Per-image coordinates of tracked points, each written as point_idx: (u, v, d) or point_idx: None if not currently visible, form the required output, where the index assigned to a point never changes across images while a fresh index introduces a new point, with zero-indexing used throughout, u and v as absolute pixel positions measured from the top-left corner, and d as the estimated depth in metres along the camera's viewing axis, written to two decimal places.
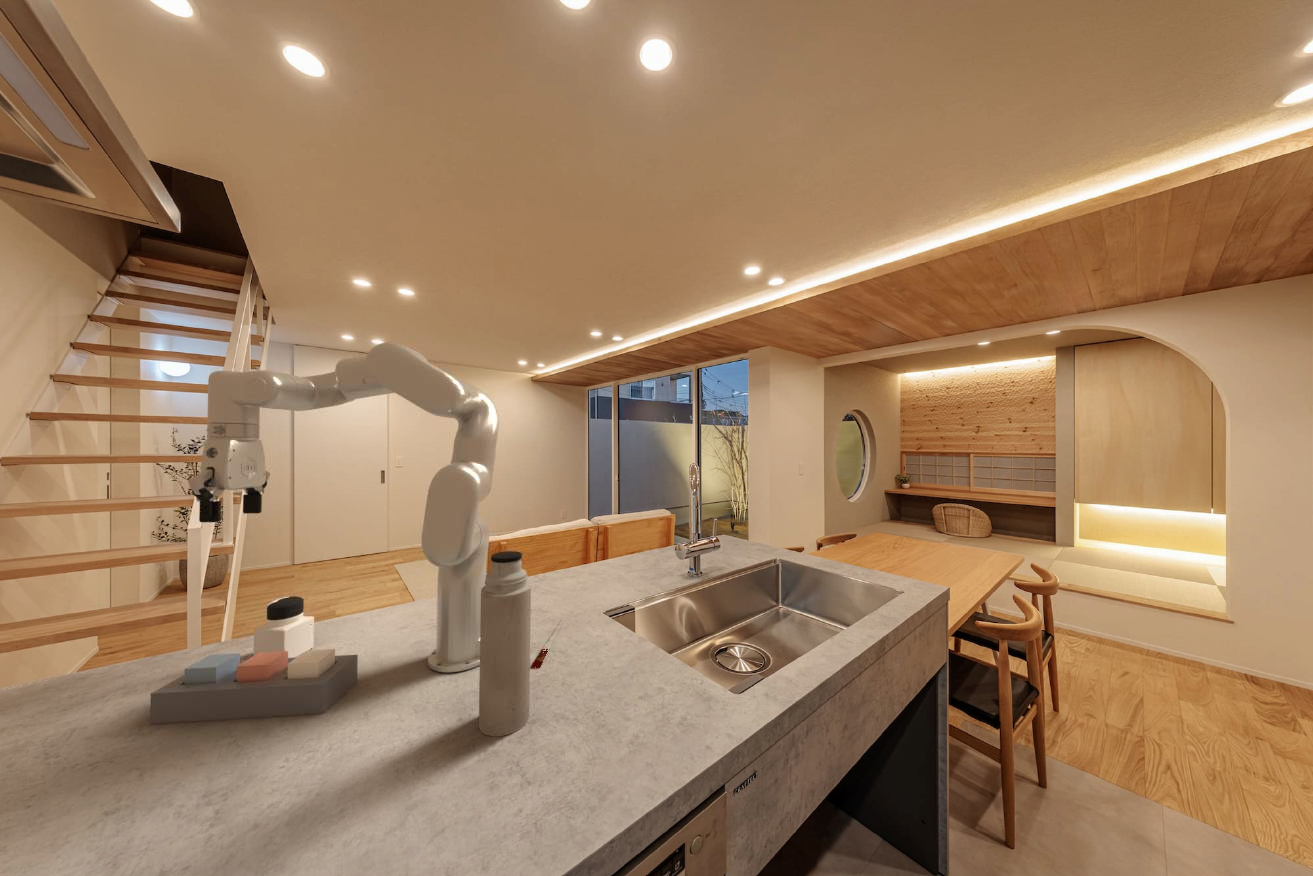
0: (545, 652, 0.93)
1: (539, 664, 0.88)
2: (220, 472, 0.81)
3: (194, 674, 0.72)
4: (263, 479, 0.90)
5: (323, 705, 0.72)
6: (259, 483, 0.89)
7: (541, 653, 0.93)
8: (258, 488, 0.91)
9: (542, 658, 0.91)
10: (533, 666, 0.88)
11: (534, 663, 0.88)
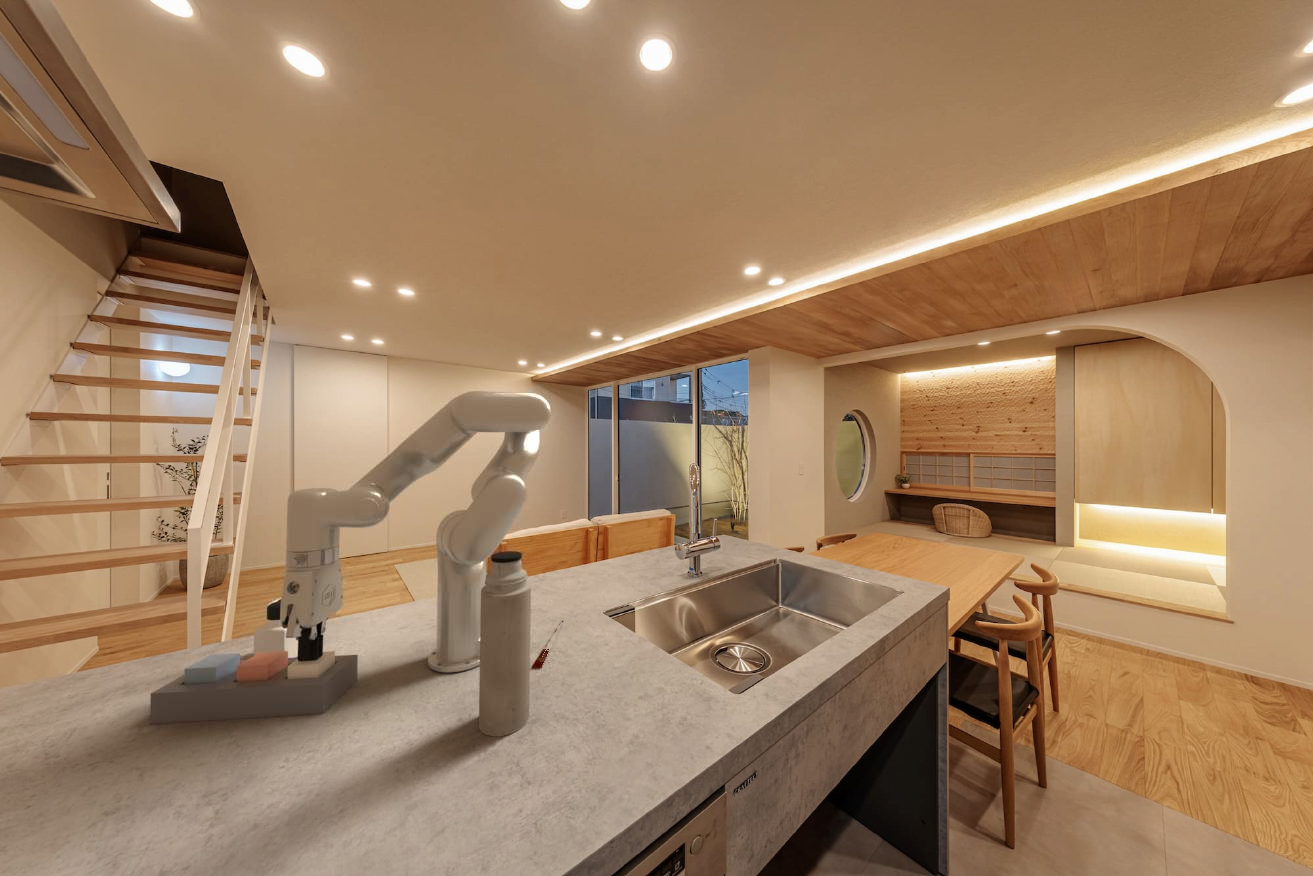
0: (546, 653, 0.93)
1: (540, 665, 0.88)
2: (303, 610, 0.72)
3: (194, 674, 0.72)
4: (341, 602, 0.81)
5: (323, 705, 0.72)
6: (337, 608, 0.80)
7: (542, 653, 0.93)
8: (323, 623, 0.78)
9: (543, 659, 0.90)
10: (534, 666, 0.87)
11: (535, 663, 0.88)
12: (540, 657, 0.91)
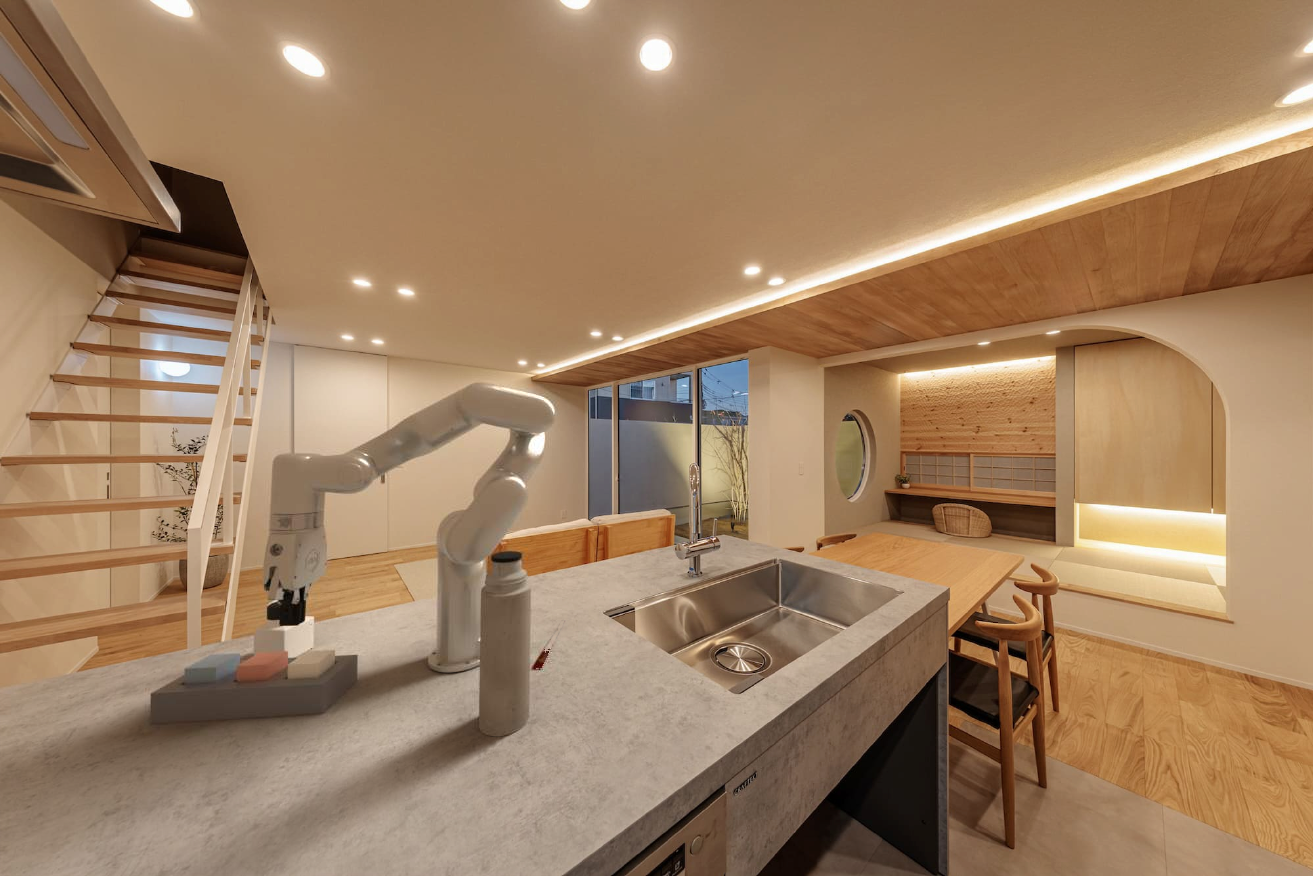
0: (546, 653, 0.93)
1: (540, 665, 0.88)
2: (286, 572, 0.72)
3: (194, 674, 0.72)
4: (325, 569, 0.81)
5: (323, 705, 0.72)
6: (321, 575, 0.79)
7: (542, 654, 0.92)
8: (306, 589, 0.77)
9: (543, 659, 0.90)
10: (534, 667, 0.87)
11: (535, 664, 0.88)
12: (540, 657, 0.91)
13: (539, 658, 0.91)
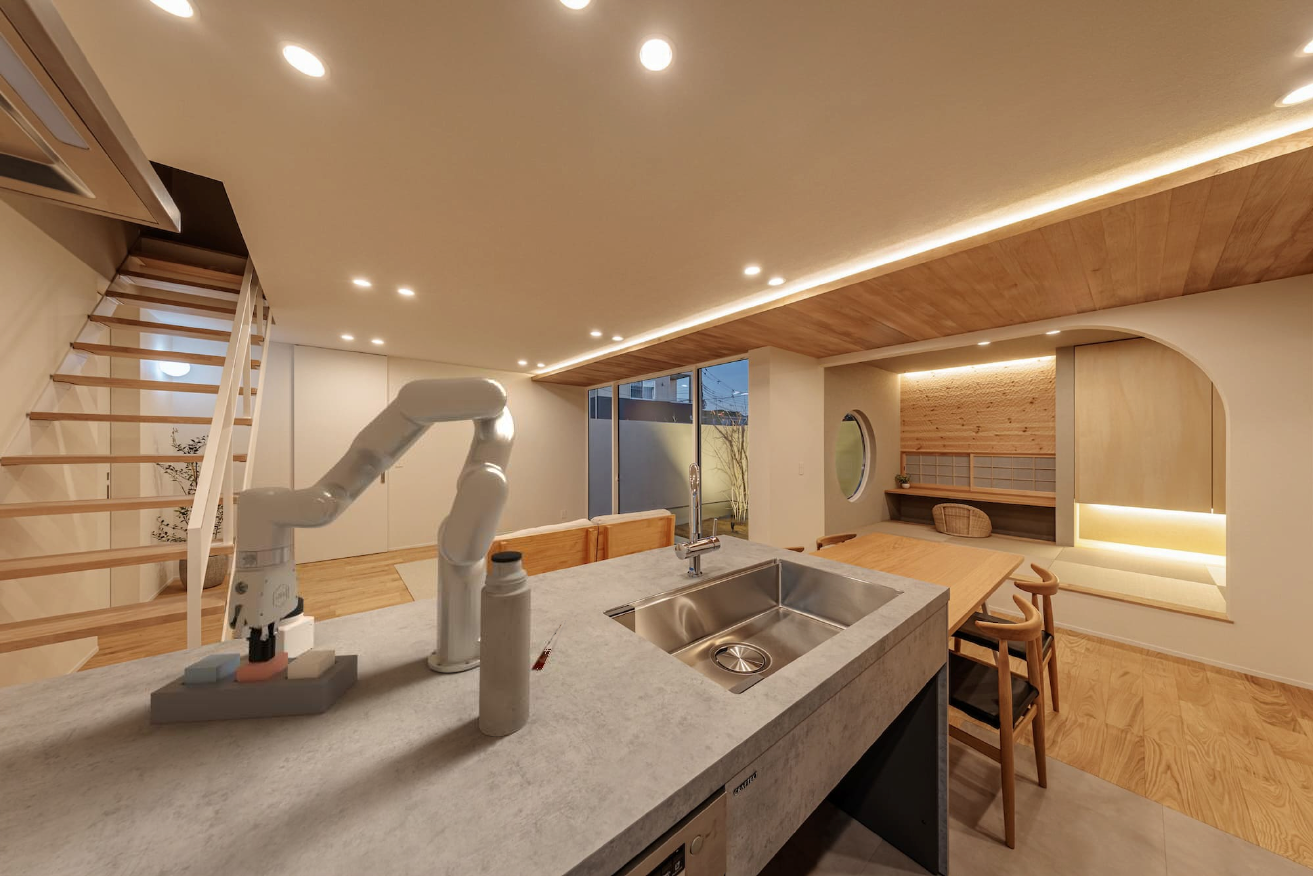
0: (547, 653, 0.93)
1: (541, 665, 0.88)
2: (251, 610, 0.71)
3: (194, 674, 0.72)
4: (295, 602, 0.80)
5: (323, 705, 0.72)
6: (291, 609, 0.79)
7: (543, 654, 0.92)
8: (275, 624, 0.77)
9: (544, 659, 0.90)
10: (535, 667, 0.87)
11: (536, 664, 0.88)
12: (541, 658, 0.91)
13: (539, 658, 0.90)
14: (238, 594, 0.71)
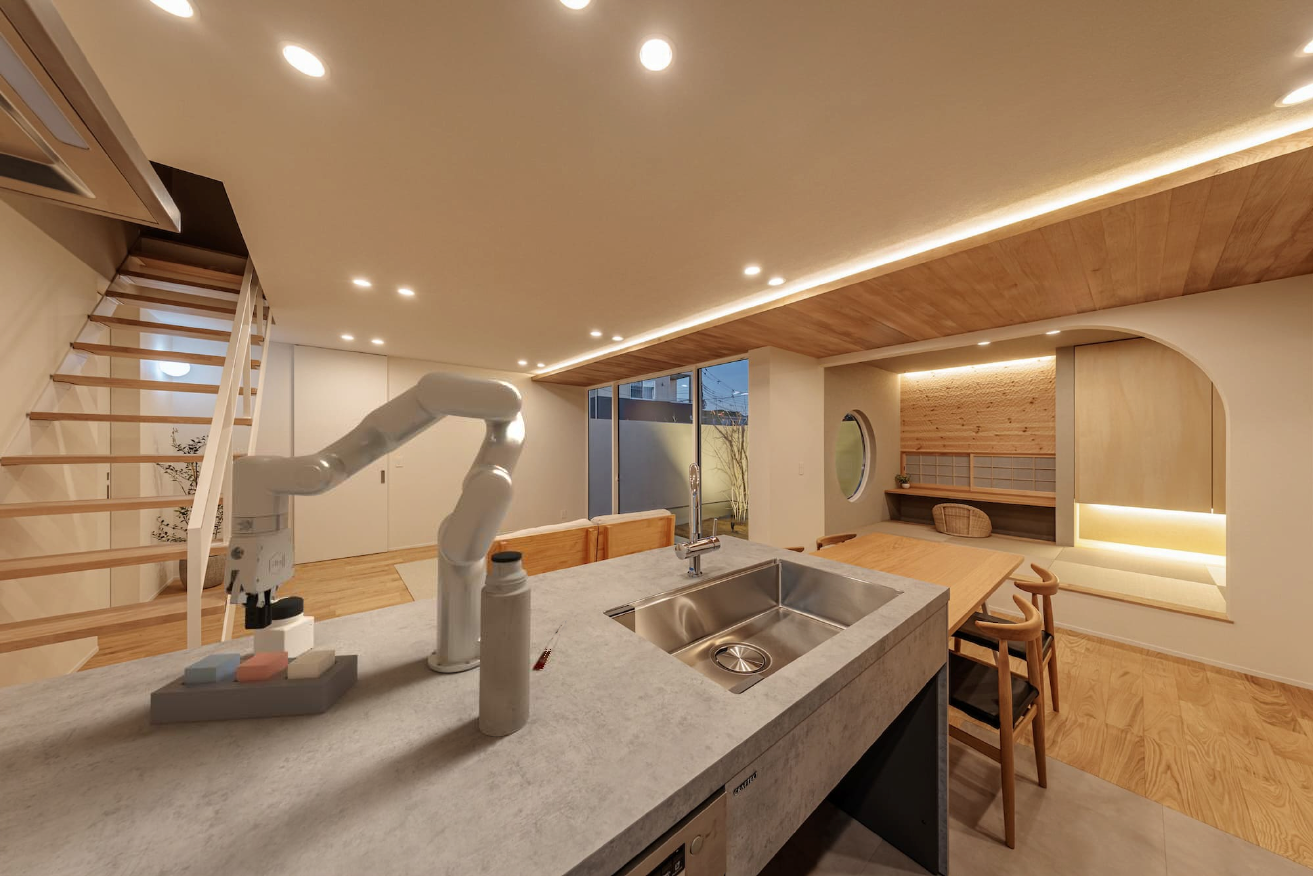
0: (547, 653, 0.93)
1: (541, 666, 0.87)
2: (247, 576, 0.71)
3: (194, 674, 0.72)
4: (292, 572, 0.80)
5: (323, 705, 0.72)
6: (288, 577, 0.79)
7: (543, 654, 0.92)
8: (272, 592, 0.77)
9: (544, 660, 0.90)
10: (535, 668, 0.87)
11: (536, 665, 0.88)
12: (541, 658, 0.91)
13: (540, 659, 0.90)
14: (234, 559, 0.71)
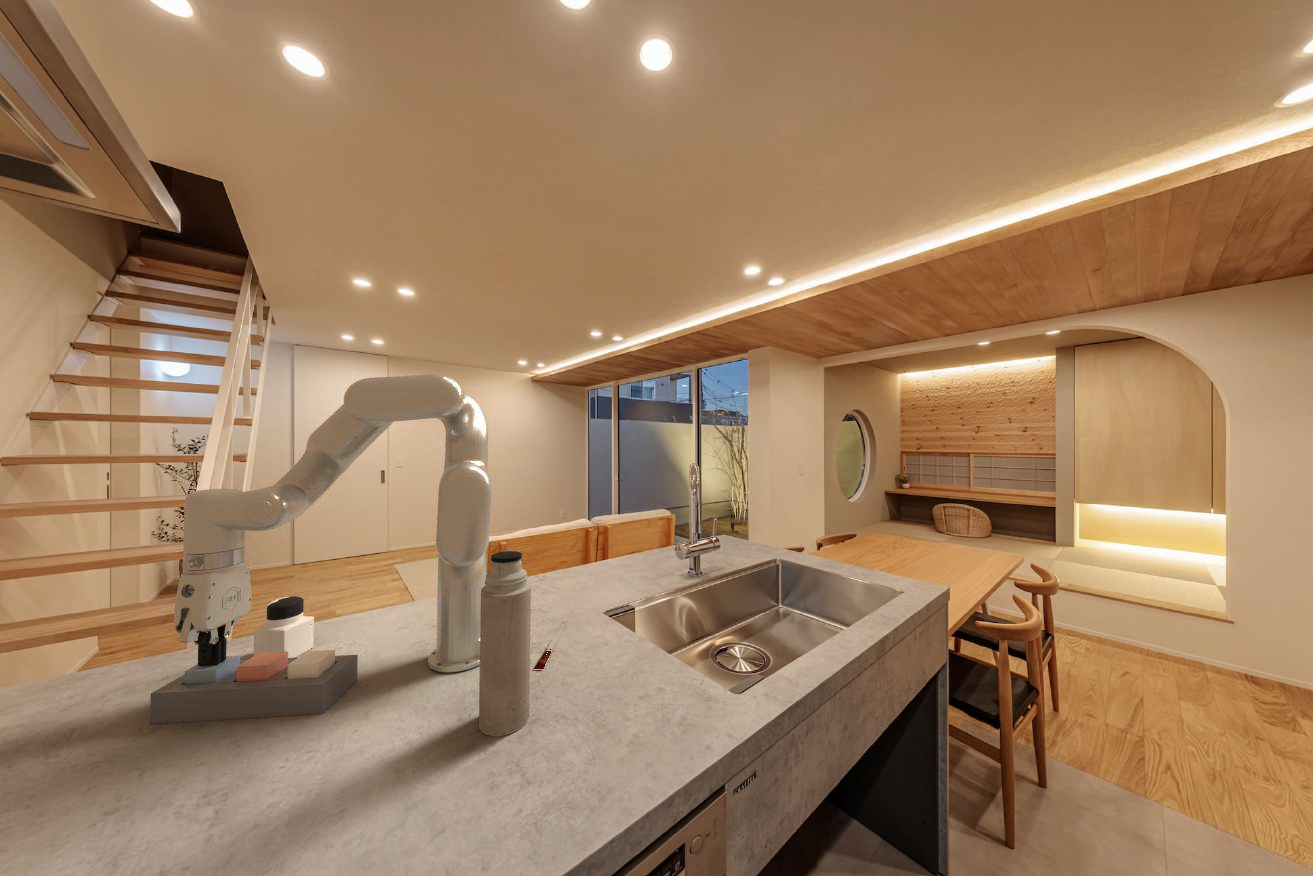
0: (548, 654, 0.92)
1: (542, 666, 0.87)
2: (198, 614, 0.70)
3: (194, 677, 0.72)
4: (249, 605, 0.79)
5: (323, 705, 0.72)
6: (244, 612, 0.78)
7: (544, 655, 0.92)
8: (226, 627, 0.76)
9: (545, 660, 0.90)
10: (536, 668, 0.87)
11: (537, 665, 0.88)
12: (542, 658, 0.90)
13: (541, 659, 0.90)
14: (184, 597, 0.70)
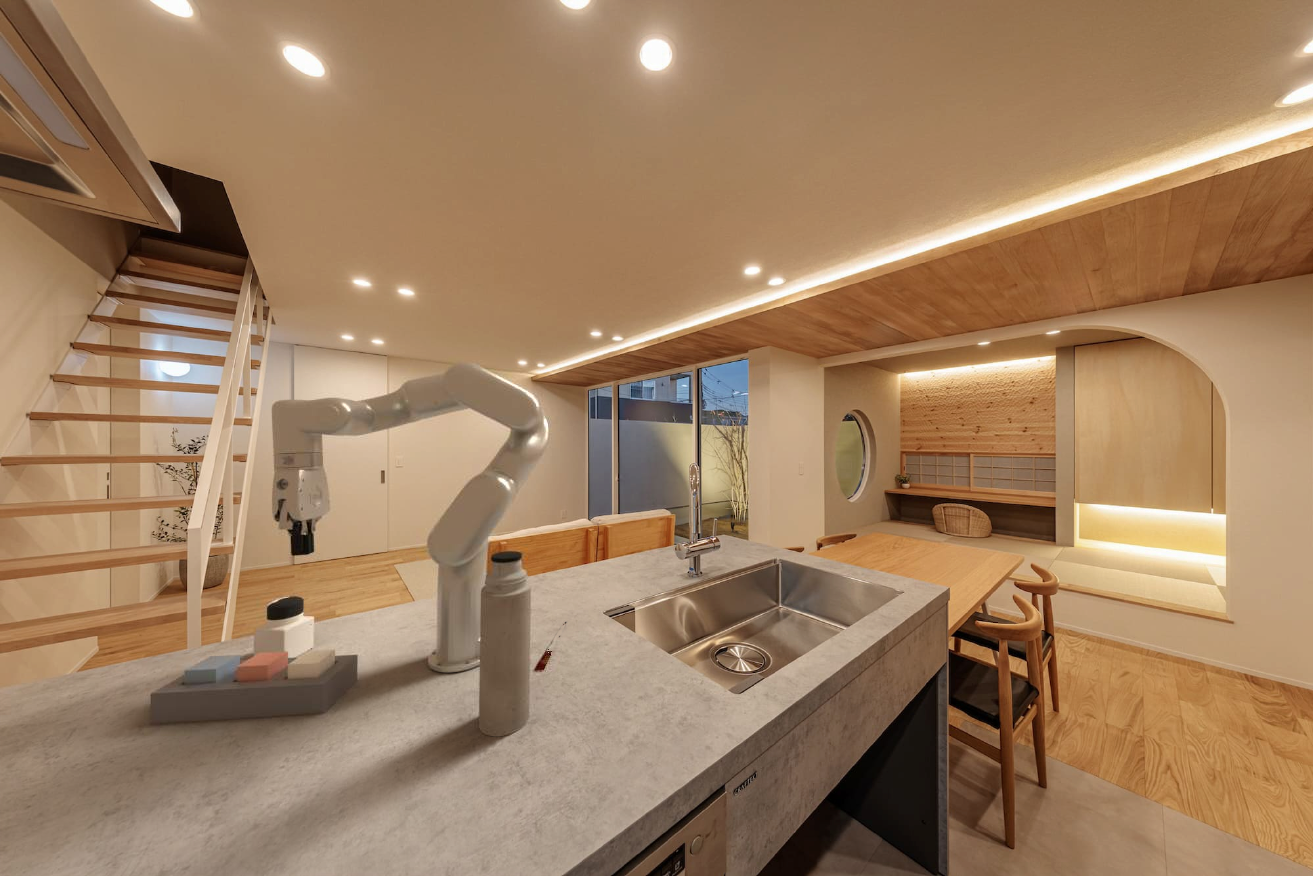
0: (549, 654, 0.92)
1: (543, 667, 0.87)
2: (293, 504, 0.80)
3: (194, 676, 0.72)
4: (328, 507, 0.89)
5: (323, 705, 0.72)
6: (325, 511, 0.88)
7: (545, 655, 0.92)
8: (312, 523, 0.86)
9: (546, 660, 0.90)
10: (537, 668, 0.87)
11: (538, 665, 0.88)
12: (543, 659, 0.90)
13: (541, 659, 0.90)
14: (280, 490, 0.79)
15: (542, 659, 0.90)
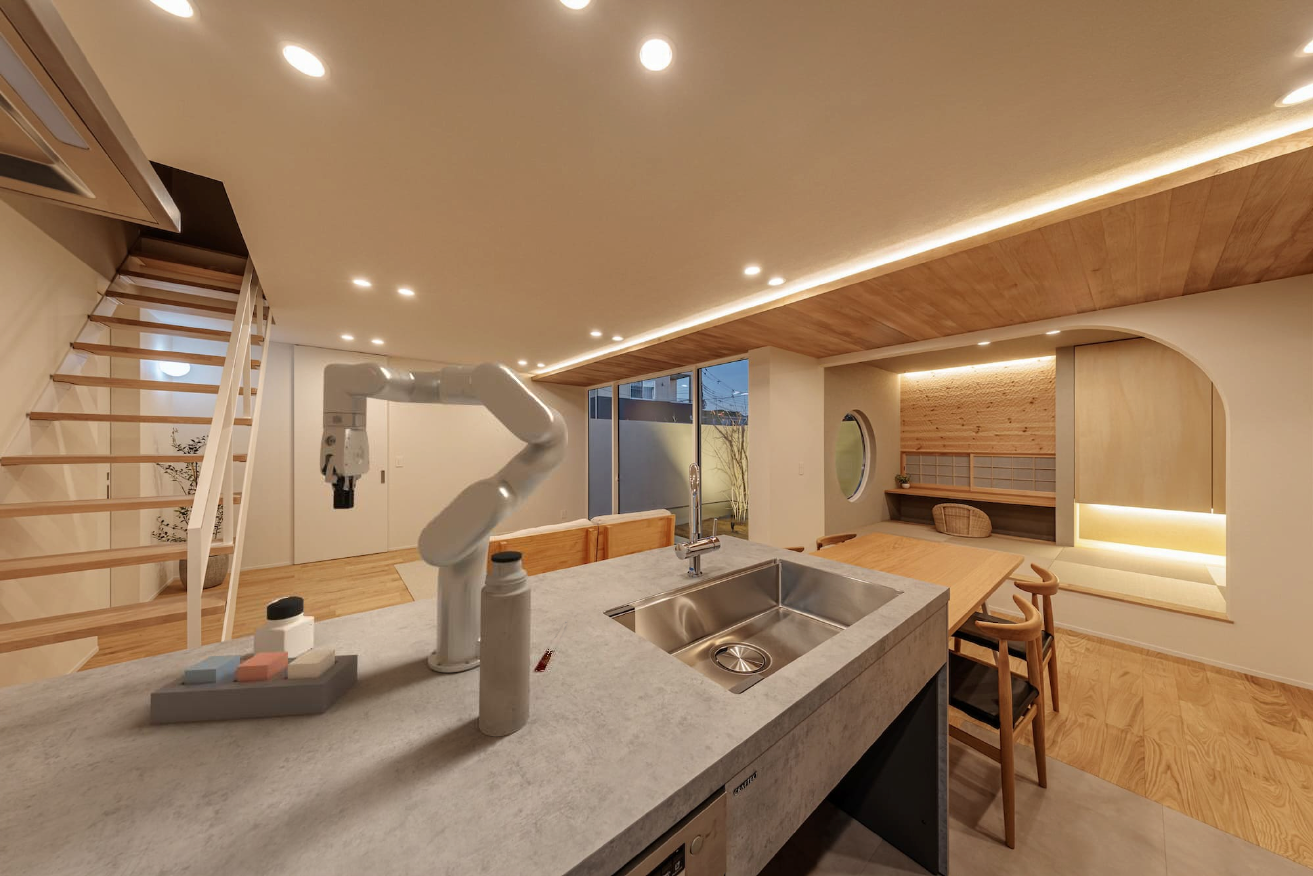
0: (549, 655, 0.92)
1: (543, 667, 0.87)
2: (339, 459, 0.86)
3: (194, 676, 0.72)
4: (368, 467, 0.95)
5: (323, 705, 0.72)
6: (365, 470, 0.94)
7: (545, 656, 0.92)
8: (353, 480, 0.92)
9: (546, 661, 0.89)
10: (537, 669, 0.86)
11: (538, 666, 0.87)
12: (543, 659, 0.90)
13: (542, 660, 0.90)
14: (328, 446, 0.86)
15: (543, 659, 0.90)
